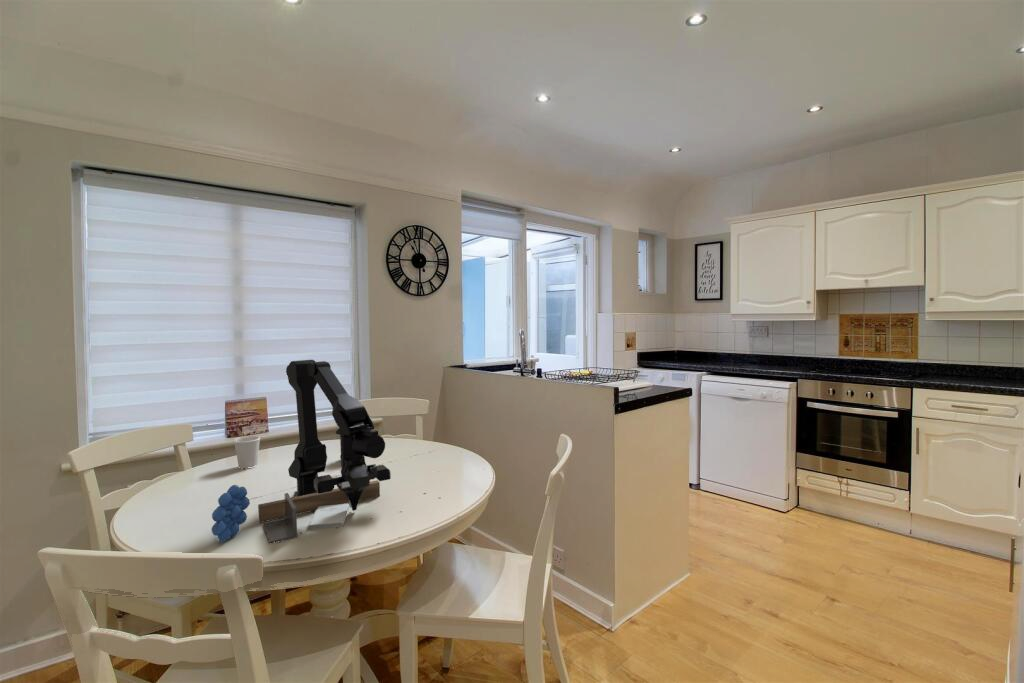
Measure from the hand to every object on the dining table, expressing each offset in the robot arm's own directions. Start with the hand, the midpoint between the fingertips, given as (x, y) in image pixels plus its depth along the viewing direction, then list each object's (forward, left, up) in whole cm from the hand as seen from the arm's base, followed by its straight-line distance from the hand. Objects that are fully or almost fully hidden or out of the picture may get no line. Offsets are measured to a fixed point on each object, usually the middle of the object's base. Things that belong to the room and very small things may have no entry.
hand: (354, 510), depth 125 cm
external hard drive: (0, -6, -1) cm, 6 cm away
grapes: (-3, -29, -1) cm, 29 cm away
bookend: (+1, -18, -1) cm, 18 cm away
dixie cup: (-63, -20, -1) cm, 66 cm away
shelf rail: (-9, -6, -1) cm, 11 cm away
